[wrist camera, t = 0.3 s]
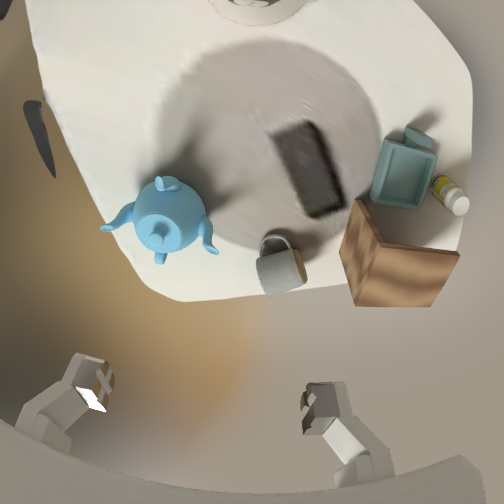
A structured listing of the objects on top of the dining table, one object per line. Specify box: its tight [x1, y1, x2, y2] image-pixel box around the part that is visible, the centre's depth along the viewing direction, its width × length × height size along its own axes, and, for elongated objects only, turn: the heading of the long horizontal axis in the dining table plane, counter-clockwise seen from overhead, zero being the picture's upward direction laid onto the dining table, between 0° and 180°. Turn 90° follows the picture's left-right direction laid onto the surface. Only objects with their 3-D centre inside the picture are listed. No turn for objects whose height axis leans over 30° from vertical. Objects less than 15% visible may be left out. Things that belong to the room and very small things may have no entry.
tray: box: [369, 127, 438, 211], centre depth 40 cm, size 14×10×5 cm
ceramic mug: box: [256, 234, 307, 297], centre depth 53 cm, size 11×8×8 cm
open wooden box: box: [339, 199, 460, 307], centre depth 46 cm, size 12×16×14 cm
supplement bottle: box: [430, 175, 470, 216], centre depth 41 cm, size 5×5×8 cm
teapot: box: [100, 176, 219, 265], centre depth 46 cm, size 15×15×10 cm
